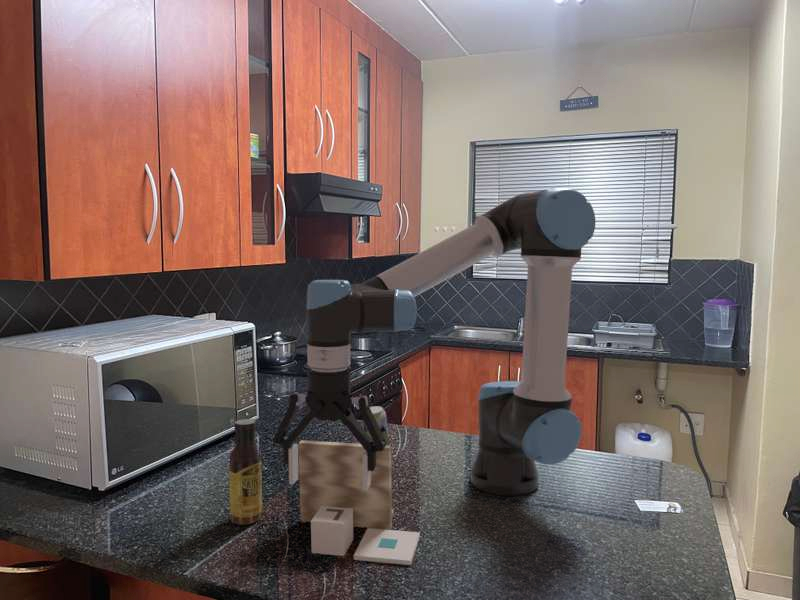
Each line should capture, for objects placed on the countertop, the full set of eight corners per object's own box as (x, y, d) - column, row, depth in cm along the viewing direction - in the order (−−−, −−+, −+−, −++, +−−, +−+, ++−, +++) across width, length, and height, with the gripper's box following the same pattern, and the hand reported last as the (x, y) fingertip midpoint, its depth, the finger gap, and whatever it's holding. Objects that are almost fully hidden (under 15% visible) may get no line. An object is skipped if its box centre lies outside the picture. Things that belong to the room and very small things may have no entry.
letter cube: (353, 539, 110) (352, 508, 110) (344, 556, 105) (343, 523, 104) (321, 536, 112) (321, 505, 111) (311, 553, 106) (310, 520, 105)
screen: (396, 514, 120) (395, 437, 118) (390, 529, 114) (389, 448, 112) (311, 508, 123) (309, 432, 122) (300, 522, 117) (298, 443, 116)
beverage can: (394, 450, 157) (394, 405, 156) (378, 459, 151) (378, 412, 150) (374, 446, 160) (374, 402, 159) (358, 454, 154) (357, 409, 153)
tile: (419, 536, 111) (419, 531, 111) (410, 565, 101) (410, 560, 101) (367, 532, 113) (367, 527, 113) (353, 559, 103) (353, 554, 103)
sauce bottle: (245, 530, 114) (242, 429, 112) (223, 522, 118) (219, 423, 116) (270, 516, 120) (267, 420, 118) (247, 509, 123) (244, 415, 121)
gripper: (253, 368, 103) (255, 487, 105) (394, 375, 99) (393, 499, 101) (270, 360, 111) (272, 471, 113) (402, 366, 106) (402, 481, 108)
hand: (329, 484), depth 107 cm, fingers open, 13 cm apart
